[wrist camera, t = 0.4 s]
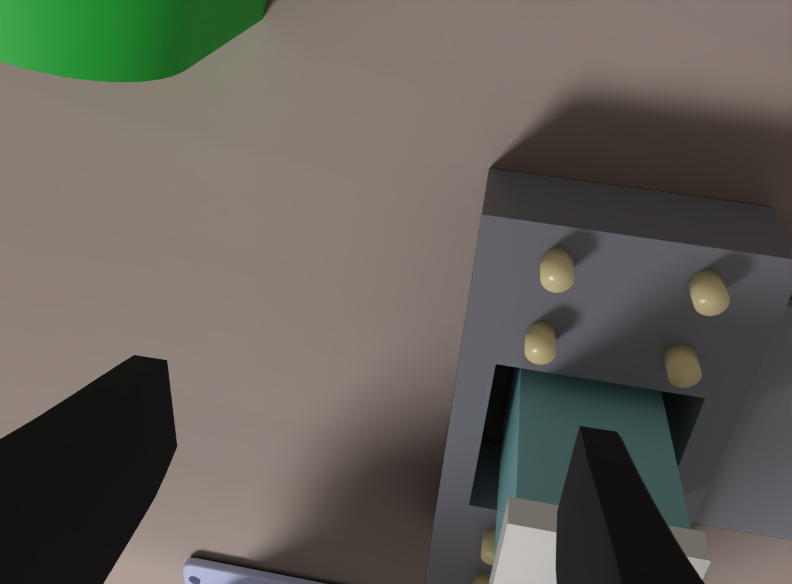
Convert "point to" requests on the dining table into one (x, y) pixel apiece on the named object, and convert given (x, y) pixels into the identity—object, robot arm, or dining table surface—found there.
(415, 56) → the dining table surface
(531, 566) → the plug
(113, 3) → the mechanical part
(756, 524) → the pad
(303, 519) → the dining table surface
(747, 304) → the box
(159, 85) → the dining table surface
